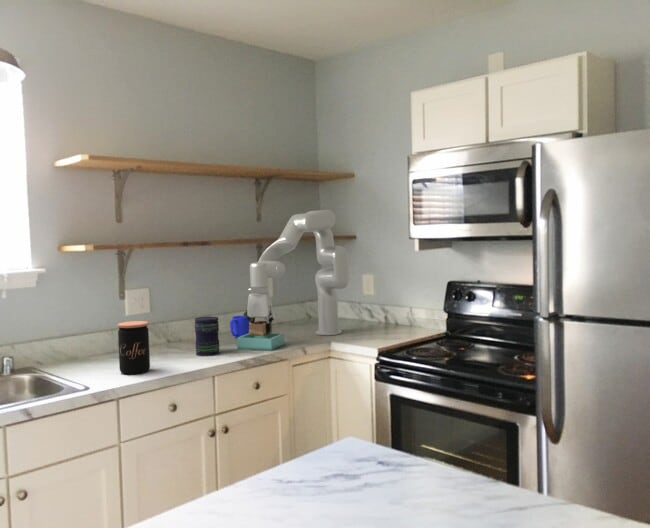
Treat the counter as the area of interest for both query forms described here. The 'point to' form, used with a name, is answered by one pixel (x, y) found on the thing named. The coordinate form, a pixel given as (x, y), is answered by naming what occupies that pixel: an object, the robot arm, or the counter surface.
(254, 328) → the walnut crate
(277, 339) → the teal crate
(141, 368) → the coffee jar
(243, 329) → the mug
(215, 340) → the storage jar
